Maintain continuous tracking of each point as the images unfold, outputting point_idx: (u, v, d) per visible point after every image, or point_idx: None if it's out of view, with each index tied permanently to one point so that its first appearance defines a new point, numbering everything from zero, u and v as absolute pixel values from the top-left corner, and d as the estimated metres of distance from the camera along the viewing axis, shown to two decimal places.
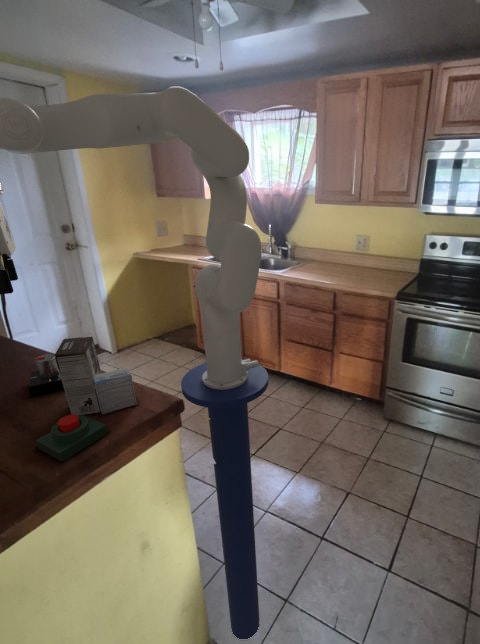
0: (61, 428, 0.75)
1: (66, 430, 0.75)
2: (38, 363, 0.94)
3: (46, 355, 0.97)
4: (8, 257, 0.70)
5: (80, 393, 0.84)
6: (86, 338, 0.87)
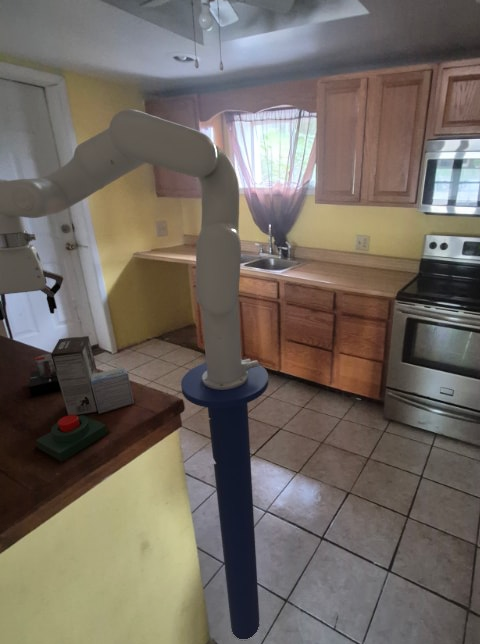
0: (61, 428, 0.75)
1: (66, 430, 0.75)
2: (38, 363, 0.94)
3: (46, 355, 0.97)
4: None
5: (77, 393, 0.84)
6: (82, 338, 0.88)
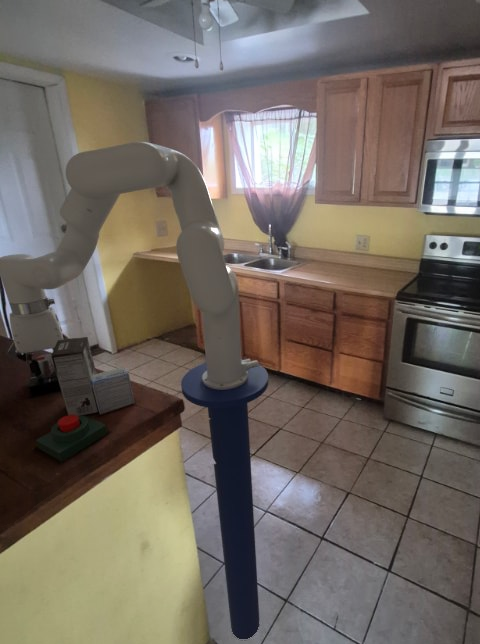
0: (61, 428, 0.75)
1: (66, 430, 0.75)
2: (38, 363, 0.94)
3: (46, 355, 0.97)
4: None
5: (77, 394, 0.84)
6: (81, 338, 0.87)
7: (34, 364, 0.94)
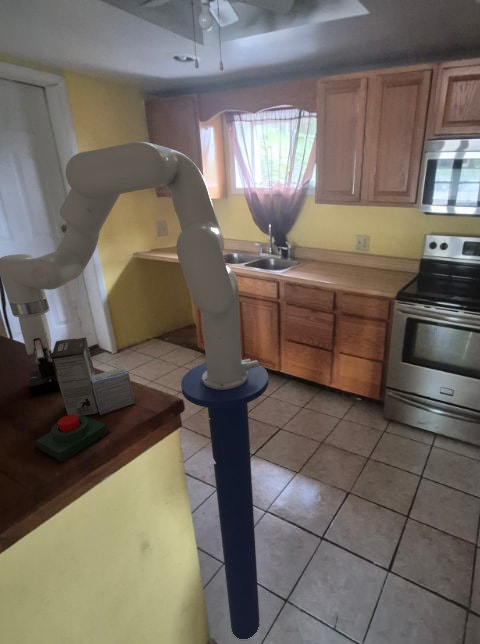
0: (61, 428, 0.75)
1: (66, 430, 0.75)
2: None
3: None
4: None
5: (77, 395, 0.84)
6: (80, 339, 0.87)
7: None
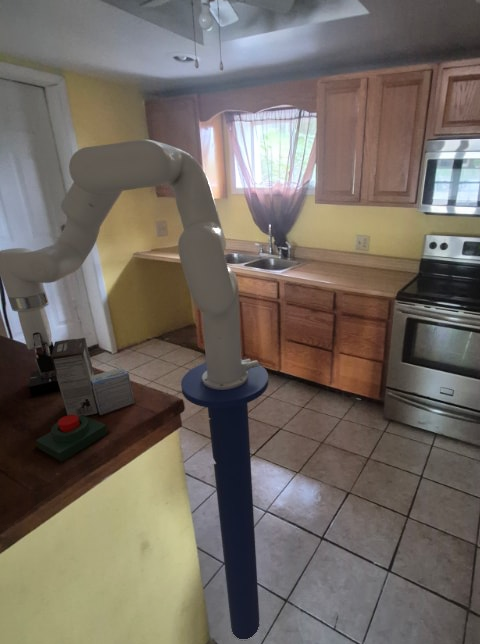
0: (61, 428, 0.75)
1: (66, 430, 0.75)
2: None
3: None
4: None
5: (77, 395, 0.83)
6: (79, 339, 0.87)
7: None
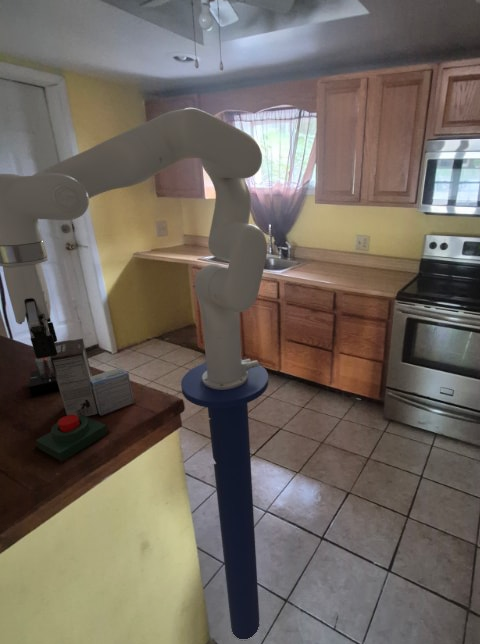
0: (61, 428, 0.75)
1: (66, 430, 0.75)
2: None
3: None
4: None
5: (77, 396, 0.83)
6: (77, 340, 0.86)
7: None
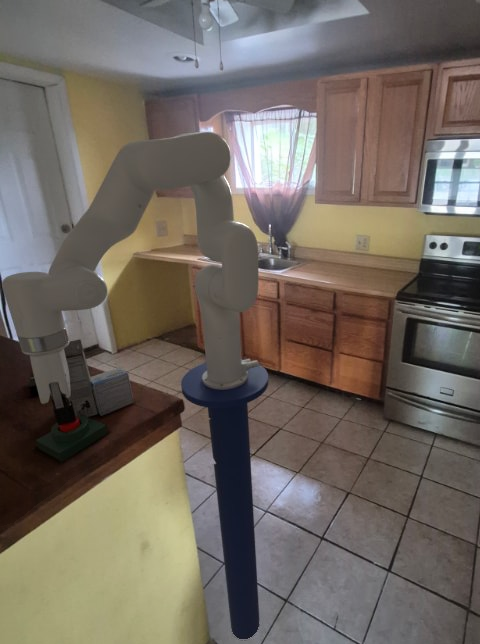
0: (61, 429, 0.75)
1: (66, 431, 0.75)
2: None
3: None
4: None
5: (77, 397, 0.83)
6: (74, 341, 0.86)
7: None
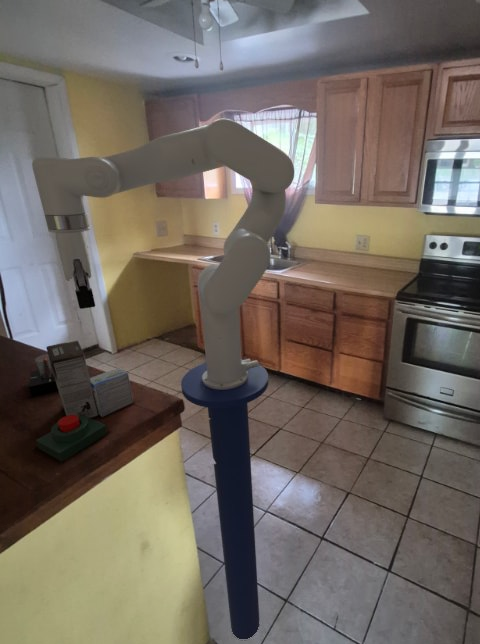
0: (61, 428, 0.75)
1: (66, 430, 0.75)
2: None
3: (39, 358, 0.95)
4: None
5: (78, 398, 0.82)
6: (72, 343, 0.85)
7: None
